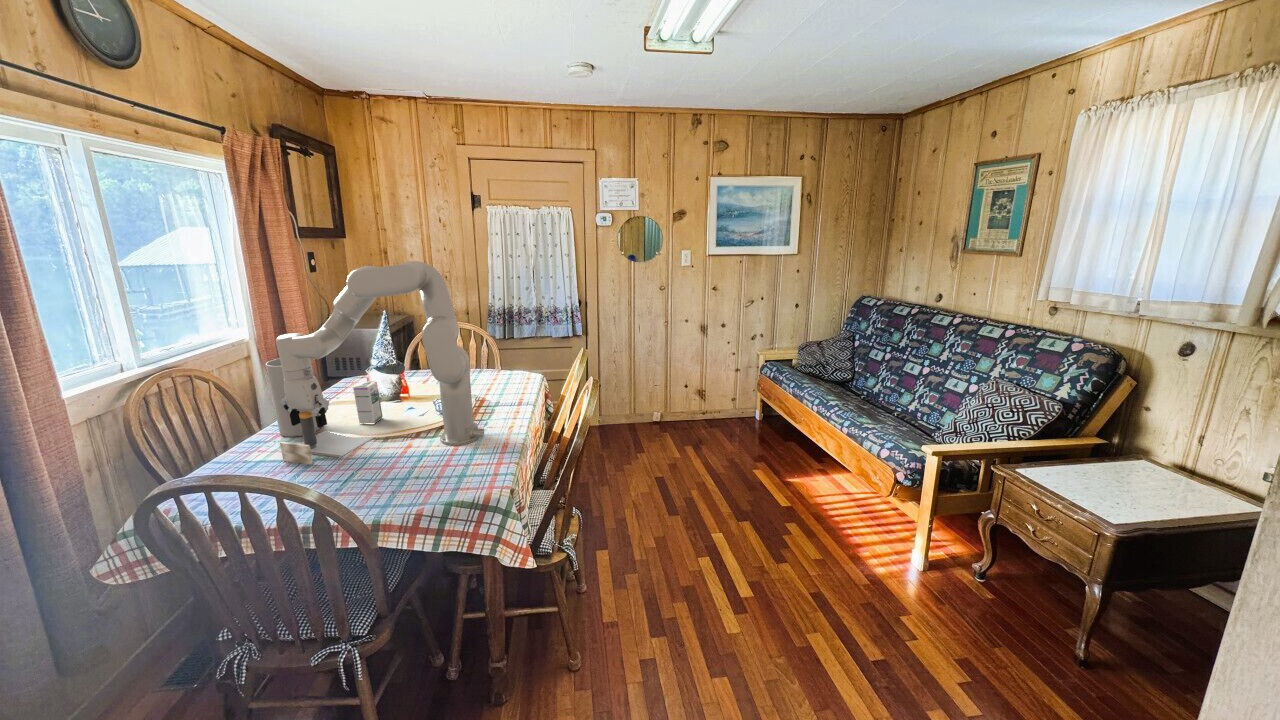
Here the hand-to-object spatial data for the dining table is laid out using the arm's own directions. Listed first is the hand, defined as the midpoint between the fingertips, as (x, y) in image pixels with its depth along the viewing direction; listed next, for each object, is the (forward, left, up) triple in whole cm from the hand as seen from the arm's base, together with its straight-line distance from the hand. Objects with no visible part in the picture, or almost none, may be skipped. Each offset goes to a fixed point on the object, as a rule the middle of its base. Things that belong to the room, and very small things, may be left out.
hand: (309, 425), depth 162 cm
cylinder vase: (+16, -11, -8) cm, 21 cm away
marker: (+1, 0, -8) cm, 8 cm away
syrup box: (-2, -23, -8) cm, 24 cm away
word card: (-3, +9, -8) cm, 13 cm away
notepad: (-3, -4, -8) cm, 9 cm away
